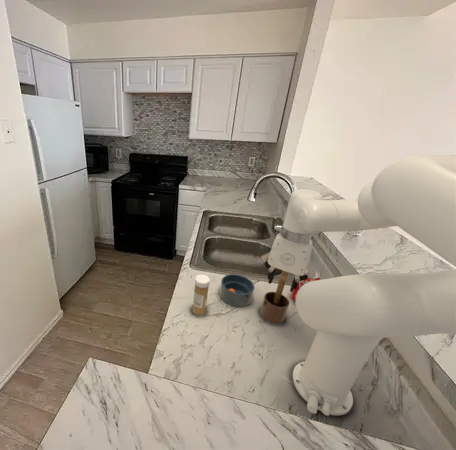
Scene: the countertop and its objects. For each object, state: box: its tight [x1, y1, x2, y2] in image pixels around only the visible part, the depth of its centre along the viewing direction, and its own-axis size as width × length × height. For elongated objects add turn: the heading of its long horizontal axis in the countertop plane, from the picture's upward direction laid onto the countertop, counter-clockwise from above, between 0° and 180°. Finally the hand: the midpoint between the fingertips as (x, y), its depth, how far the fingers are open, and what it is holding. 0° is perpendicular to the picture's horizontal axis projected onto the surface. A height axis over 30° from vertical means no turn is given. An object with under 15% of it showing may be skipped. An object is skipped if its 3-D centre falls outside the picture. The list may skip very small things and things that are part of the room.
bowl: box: [219, 273, 255, 308], centre depth 90 cm, size 11×11×6 cm
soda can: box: [290, 269, 321, 302], centre depth 87 cm, size 7×7×12 cm
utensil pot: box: [260, 291, 290, 324], centre depth 82 cm, size 7×7×7 cm
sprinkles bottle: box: [191, 274, 211, 316], centre depth 82 cm, size 5×5×14 cm
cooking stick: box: [272, 270, 290, 306], centre depth 82 cm, size 2×2×17 cm
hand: (281, 284), depth 79 cm, fingers open, 5 cm apart
